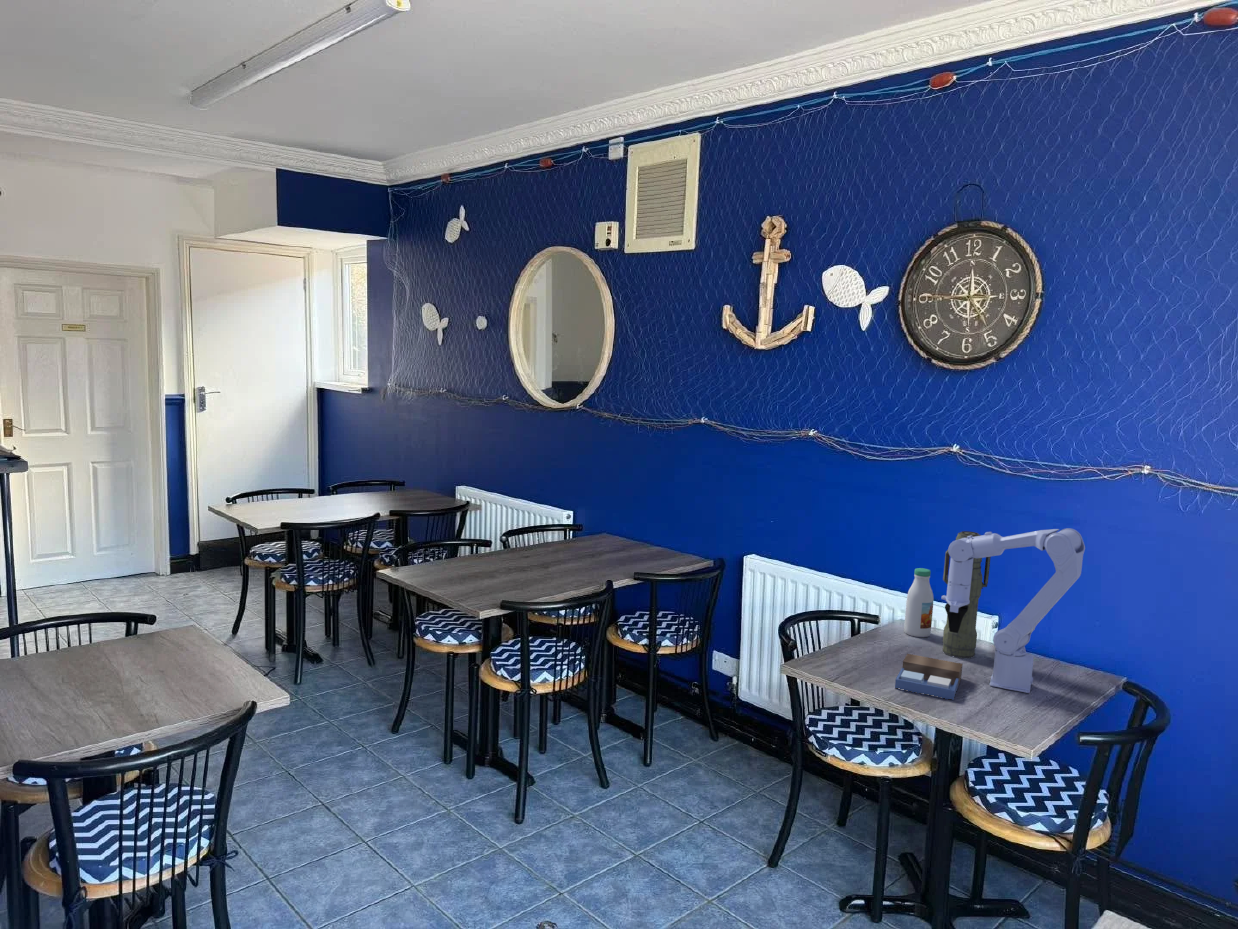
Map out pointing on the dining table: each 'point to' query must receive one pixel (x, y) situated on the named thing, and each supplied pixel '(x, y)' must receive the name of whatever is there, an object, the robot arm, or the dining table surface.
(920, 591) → the milk bottle
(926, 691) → the tray
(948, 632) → the thermos
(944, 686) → the cream tile
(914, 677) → the blue tile
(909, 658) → the brown rectangular block
